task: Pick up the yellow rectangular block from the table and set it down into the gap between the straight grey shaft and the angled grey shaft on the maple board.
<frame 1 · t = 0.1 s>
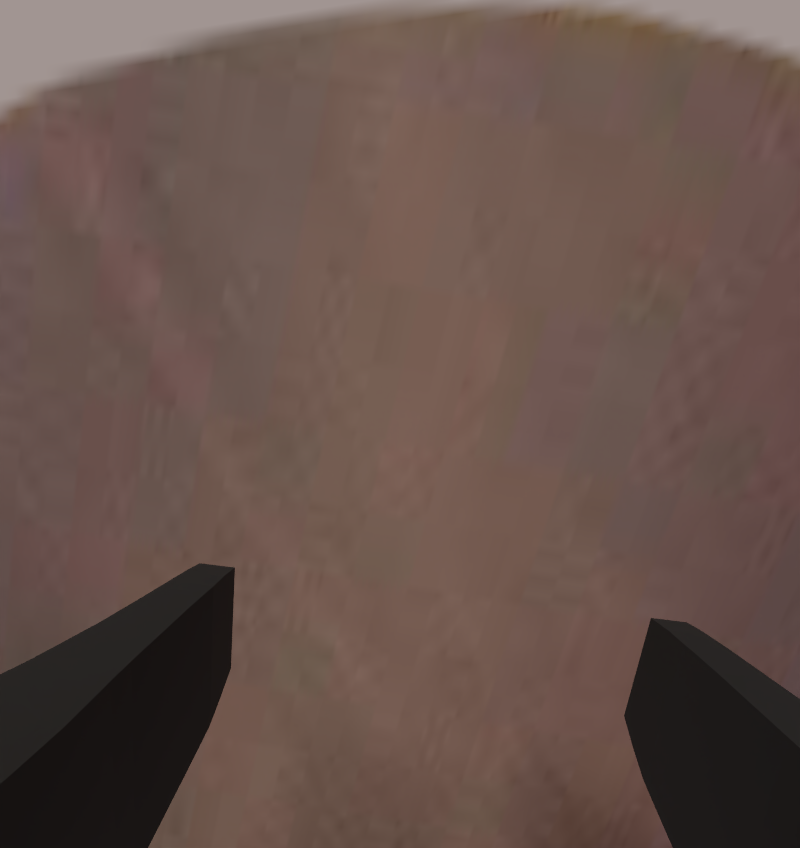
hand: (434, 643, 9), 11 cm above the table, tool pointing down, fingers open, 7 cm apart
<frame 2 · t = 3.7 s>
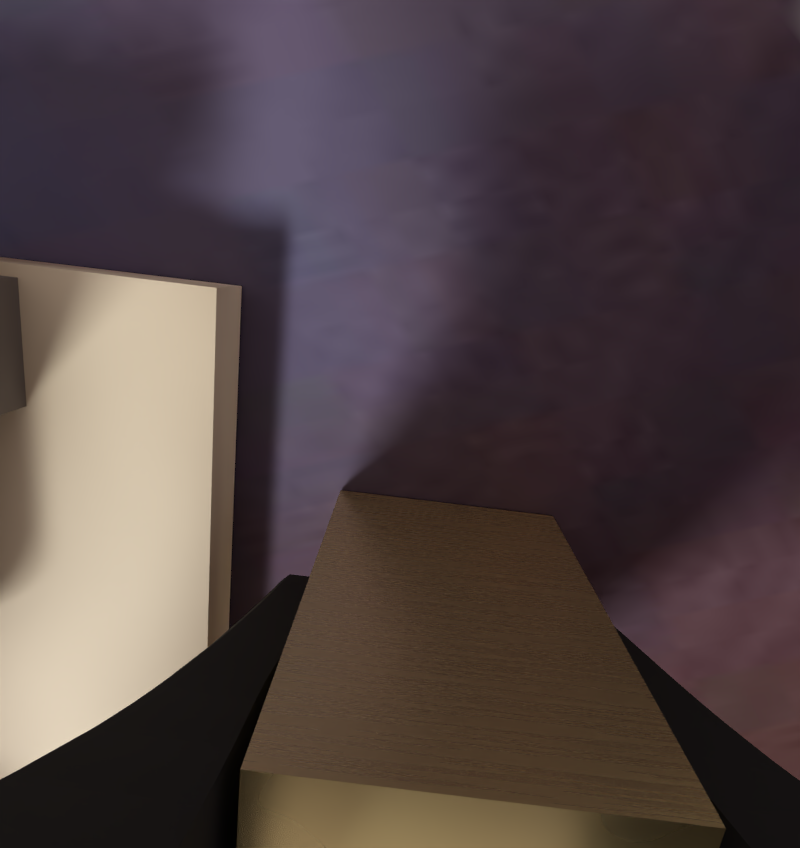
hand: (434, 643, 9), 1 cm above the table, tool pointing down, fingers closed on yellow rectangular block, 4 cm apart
yellow rectangular block: (432, 596, 11), on the table, touching gripper
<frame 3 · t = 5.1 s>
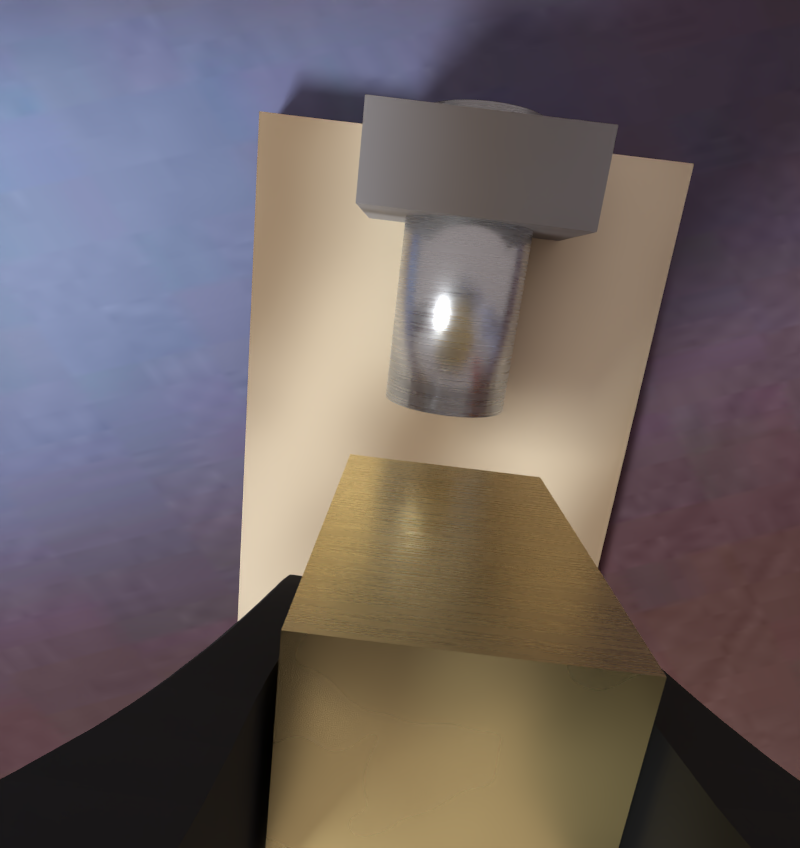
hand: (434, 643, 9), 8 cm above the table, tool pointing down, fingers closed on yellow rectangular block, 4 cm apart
yellow rectangular block: (432, 552, 12), point 6 cm above the table, touching gripper
shaft straight: (458, 270, 15), resting on board
board: (426, 482, 18), on the table
when the fingers open (4 cm above the table, at t = 6.7 s): yellow rectangular block stays where it is, resting on board.
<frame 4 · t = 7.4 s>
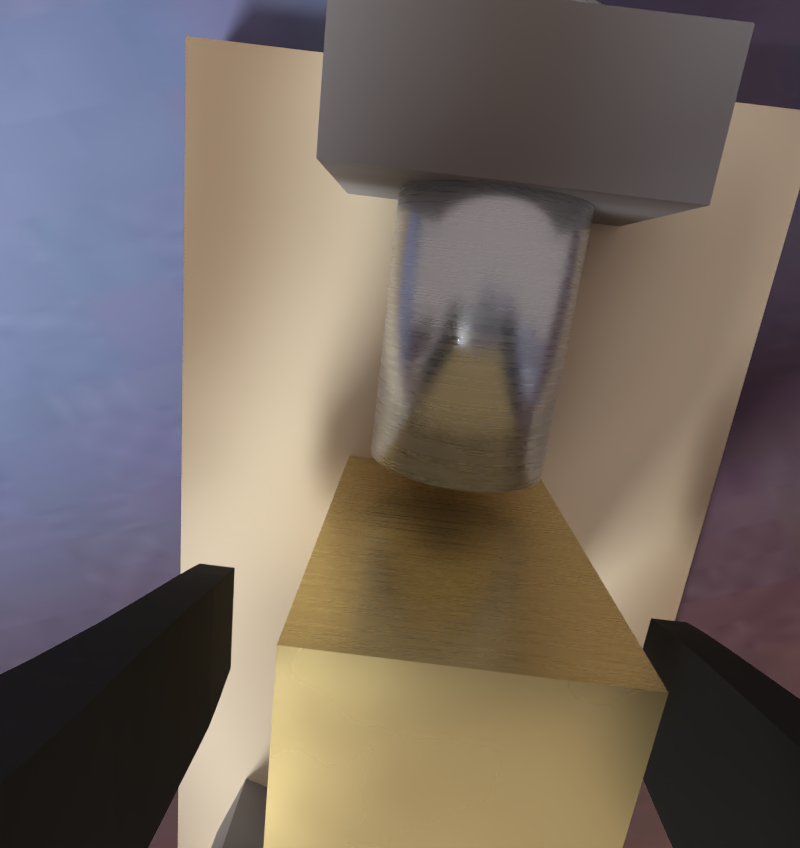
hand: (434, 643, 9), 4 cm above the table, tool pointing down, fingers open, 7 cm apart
yellow rectangular block: (432, 553, 12), point 1 cm above the table, touching board
shaft straight: (474, 269, 10), resting on board
board: (428, 550, 13), on the table
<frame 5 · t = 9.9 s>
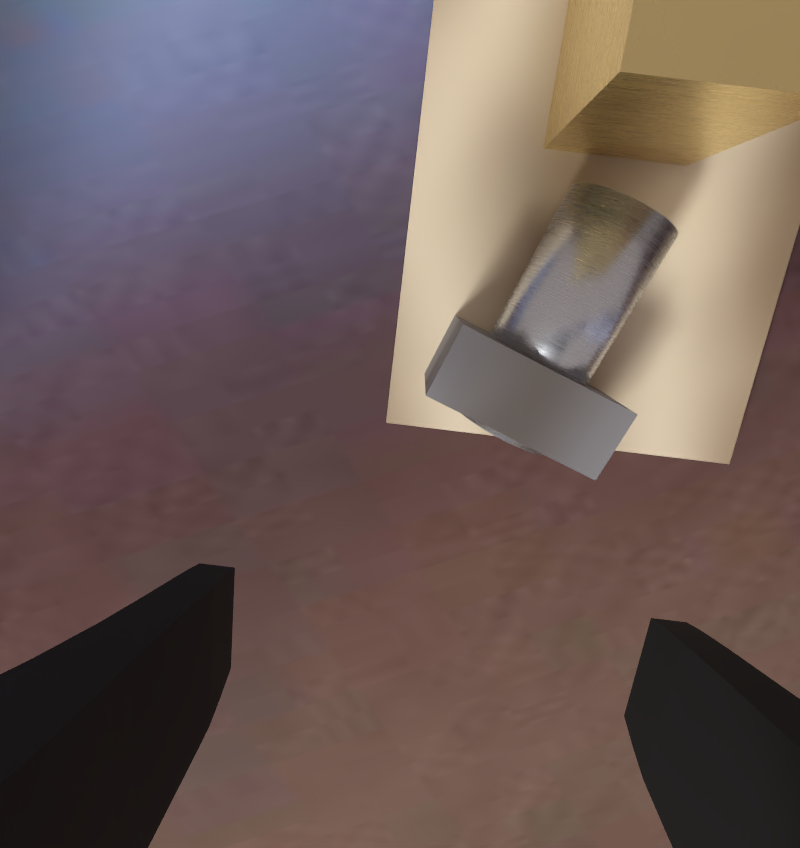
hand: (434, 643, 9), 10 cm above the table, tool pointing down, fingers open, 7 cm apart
yellow rectangular block: (631, 76, 15), point 1 cm above the table, touching board
shaft angled: (545, 320, 16), resting on board
board: (612, 112, 16), on the table
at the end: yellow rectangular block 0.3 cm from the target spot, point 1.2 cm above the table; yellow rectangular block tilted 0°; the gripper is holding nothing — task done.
